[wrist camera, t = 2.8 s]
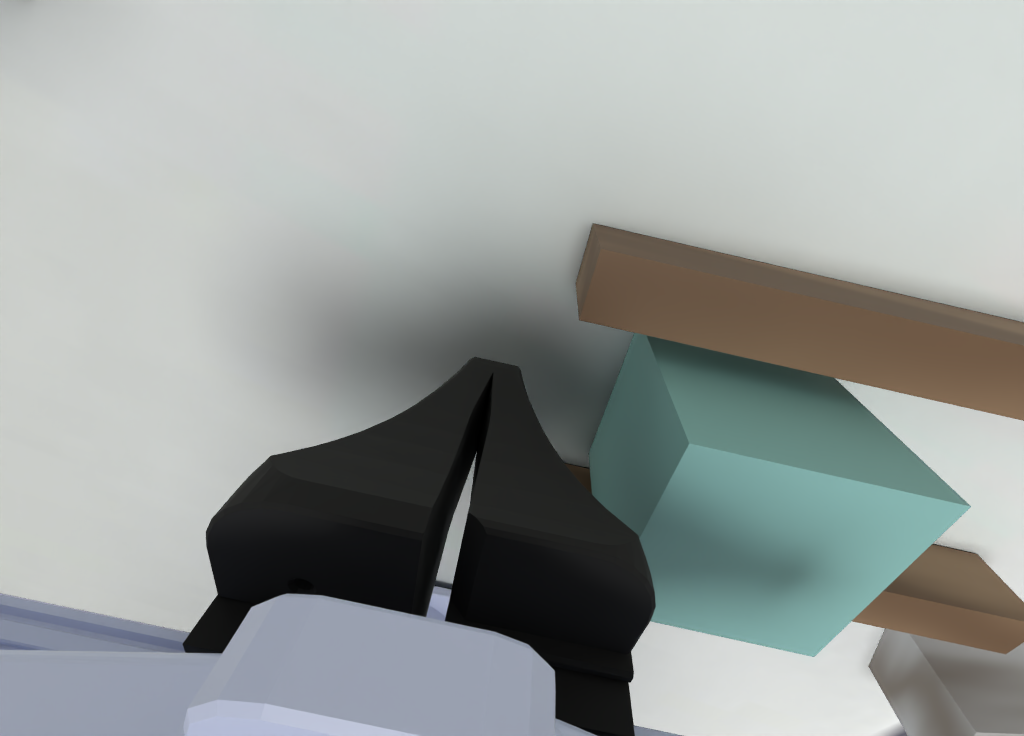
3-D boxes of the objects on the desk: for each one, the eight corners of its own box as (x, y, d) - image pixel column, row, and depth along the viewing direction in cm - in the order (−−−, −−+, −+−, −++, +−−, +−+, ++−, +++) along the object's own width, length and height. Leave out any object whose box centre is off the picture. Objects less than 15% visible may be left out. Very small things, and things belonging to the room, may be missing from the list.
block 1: (732, 484, 15) (814, 656, 10) (588, 451, 15) (601, 610, 10) (812, 357, 12) (971, 506, 8) (639, 317, 12) (689, 443, 7)
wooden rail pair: (945, 582, 16) (1006, 654, 14) (516, 488, 16) (509, 547, 14) (1197, 362, 11) (1348, 419, 9) (592, 223, 11) (601, 248, 9)
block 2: (973, 666, 18) (1068, 792, 15) (867, 664, 19) (936, 785, 16) (1010, 608, 17) (1130, 738, 13) (891, 608, 17) (976, 732, 14)
